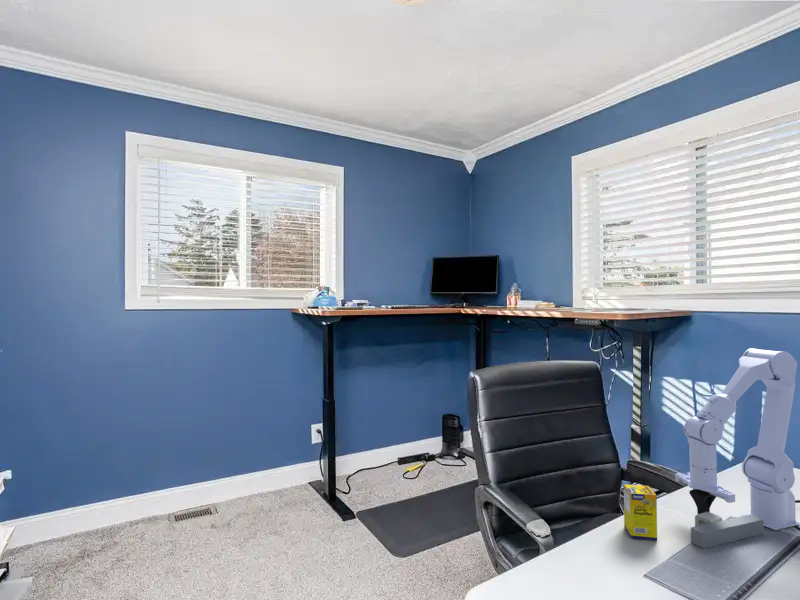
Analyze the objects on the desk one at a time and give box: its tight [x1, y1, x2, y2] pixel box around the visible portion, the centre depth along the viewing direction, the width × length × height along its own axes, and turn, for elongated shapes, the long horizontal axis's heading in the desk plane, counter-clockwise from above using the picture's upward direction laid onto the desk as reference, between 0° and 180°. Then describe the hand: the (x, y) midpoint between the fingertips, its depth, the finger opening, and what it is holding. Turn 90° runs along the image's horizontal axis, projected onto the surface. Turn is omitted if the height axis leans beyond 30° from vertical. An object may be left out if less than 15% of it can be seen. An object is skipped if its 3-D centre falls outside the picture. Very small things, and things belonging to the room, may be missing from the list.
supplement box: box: [623, 484, 658, 542], centre depth 112 cm, size 6×6×11 cm
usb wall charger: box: [694, 512, 723, 527], centre depth 113 cm, size 4×7×4 cm, turn 117°
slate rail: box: [690, 514, 765, 549], centre depth 110 cm, size 20×3×4 cm, turn 109°
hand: (704, 519), depth 116 cm, fingers closed, pressing on usb wall charger
